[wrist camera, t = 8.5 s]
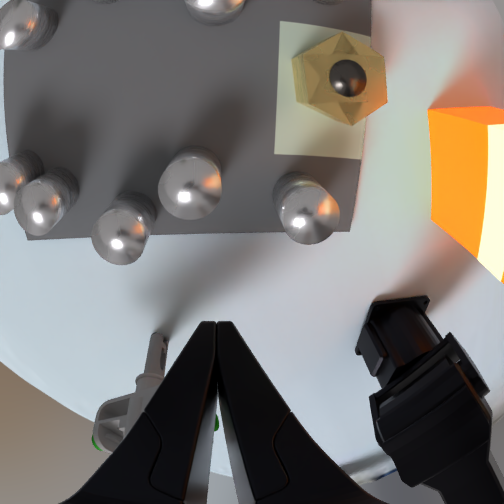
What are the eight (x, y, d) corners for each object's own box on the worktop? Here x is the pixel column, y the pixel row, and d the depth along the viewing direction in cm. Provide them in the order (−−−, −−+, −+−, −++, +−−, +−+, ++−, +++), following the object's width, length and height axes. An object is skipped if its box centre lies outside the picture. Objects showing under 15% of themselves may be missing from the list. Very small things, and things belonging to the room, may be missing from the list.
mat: (365, -26, 11) (370, -29, 11) (346, 227, 20) (349, 231, 20) (15, 1, 9) (10, 0, 8) (31, 236, 18) (27, 240, 17)
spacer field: (347, -33, 11) (373, -51, 8) (329, 231, 20) (348, 259, 17) (10, 2, 8) (-21, -4, 5) (27, 240, 17) (4, 266, 14)
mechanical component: (107, 346, 24) (82, 443, 15) (200, 304, 22) (196, 423, 14) (129, 365, 25) (112, 459, 17) (220, 328, 24) (226, 441, 15)
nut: (360, 40, 13) (381, 34, 11) (368, 119, 16) (389, 125, 14) (288, 38, 13) (299, 30, 11) (298, 123, 16) (311, 128, 14)
